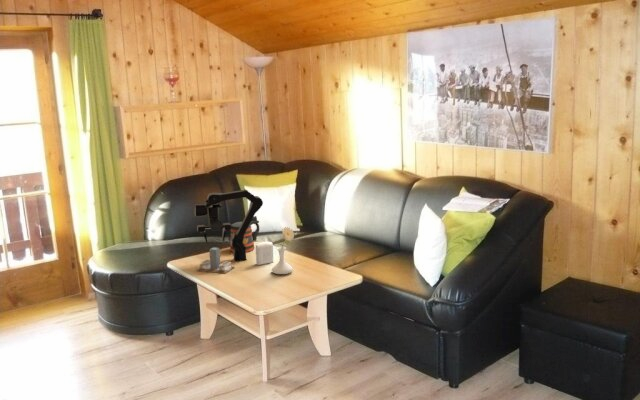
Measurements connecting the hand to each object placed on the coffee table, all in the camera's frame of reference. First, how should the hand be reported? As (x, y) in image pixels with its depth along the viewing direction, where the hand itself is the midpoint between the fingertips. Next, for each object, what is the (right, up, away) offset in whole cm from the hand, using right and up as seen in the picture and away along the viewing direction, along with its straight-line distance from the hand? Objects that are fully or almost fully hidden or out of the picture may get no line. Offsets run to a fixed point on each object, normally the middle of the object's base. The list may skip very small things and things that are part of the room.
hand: (214, 242), depth 339 cm
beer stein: (+14, -6, +28) cm, 32 cm away
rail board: (+2, -15, -10) cm, 18 cm away
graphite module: (+2, -14, -11) cm, 17 cm away
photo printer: (+29, -12, -1) cm, 31 cm away
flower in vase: (+40, -15, -18) cm, 47 cm away
